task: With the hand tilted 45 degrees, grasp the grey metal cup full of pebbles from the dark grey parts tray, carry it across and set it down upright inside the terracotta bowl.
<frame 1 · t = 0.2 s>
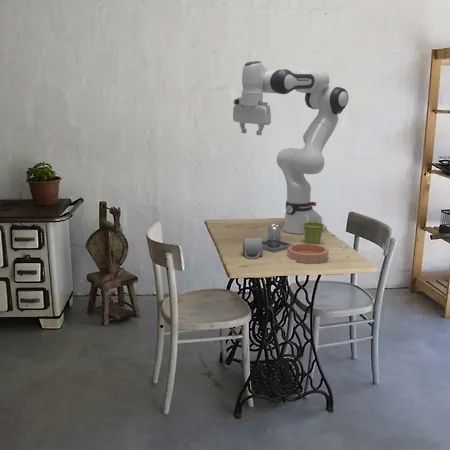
hand: (251, 134, 245), 48 cm above the table, tool pointing down, fingers open, 8 cm apart
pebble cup: (273, 246, 246), point 1 cm above the table, touching parts tray
parts tray: (273, 248, 246), on the table
terracotta bowl: (307, 257, 234), on the table
plant pot: (312, 243, 254), on the table
ceramic mug: (253, 257, 235), on the table
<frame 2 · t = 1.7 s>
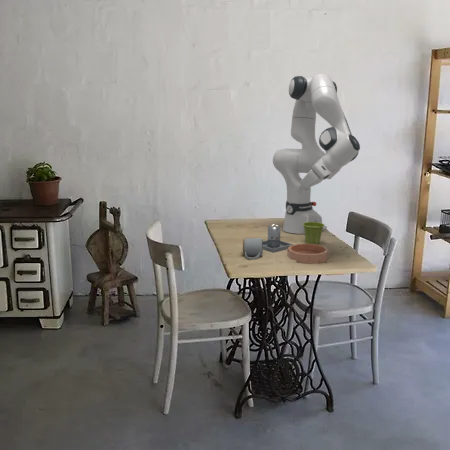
hand: (301, 190, 235), 26 cm above the table, tool tilted 45°, fingers open, 8 cm apart
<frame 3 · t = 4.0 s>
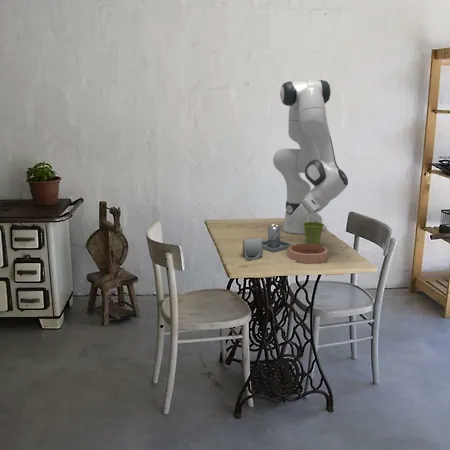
hand: (291, 222, 241), 12 cm above the table, tool tilted 45°, fingers open, 8 cm apart
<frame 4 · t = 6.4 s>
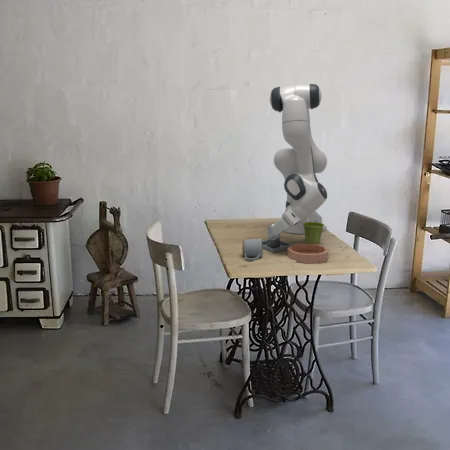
hand: (272, 234, 245), 6 cm above the table, tool tilted 45°, fingers closed on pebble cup, 5 cm apart
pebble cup: (273, 246, 246), point 1 cm above the table, touching gripper, parts tray
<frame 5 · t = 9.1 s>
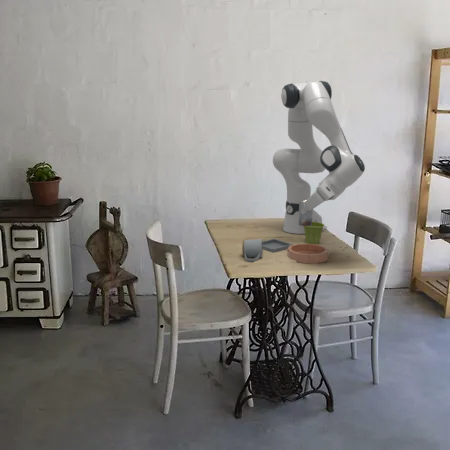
hand: (304, 211, 230), 19 cm above the table, tool tilted 45°, fingers closed on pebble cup, 5 cm apart
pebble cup: (305, 224, 231), point 14 cm above the table, touching gripper
when the fingers open (8 cm above the table, at t = 11.7 s): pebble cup drops 1 cm, resting on terracotta bowl.
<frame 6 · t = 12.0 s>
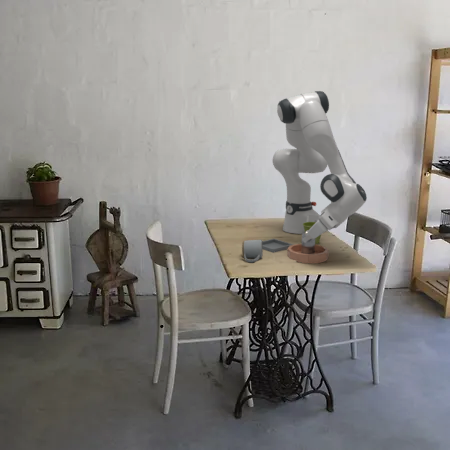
hand: (306, 238, 232), 8 cm above the table, tool tilted 45°, fingers open, 8 cm apart
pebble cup: (307, 254, 234), point 1 cm above the table, touching terracotta bowl
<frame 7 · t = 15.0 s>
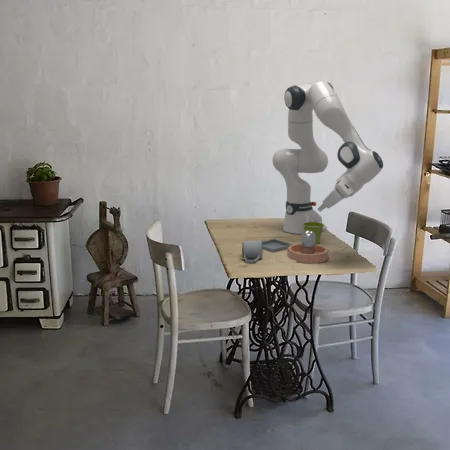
hand: (321, 207, 230), 21 cm above the table, tool tilted 45°, fingers open, 8 cm apart
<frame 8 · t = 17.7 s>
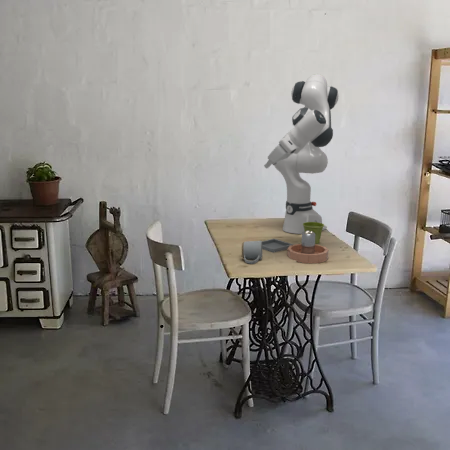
hand: (269, 165, 240), 35 cm above the table, tool tilted 45°, fingers open, 8 cm apart
at the end: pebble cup inside the target area on the terracotta bowl (0.1 cm from its centre), point 1.0 cm above the terracotta bowl's base; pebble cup tilted 0°; the gripper is holding nothing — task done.
